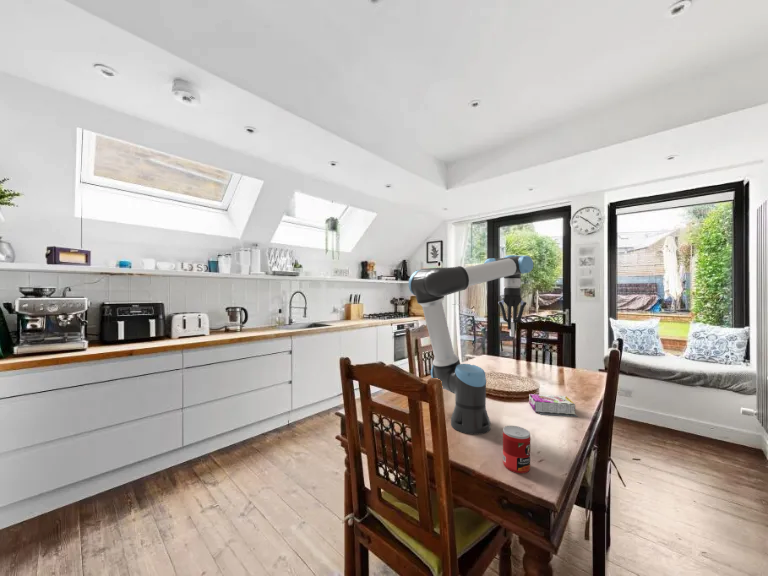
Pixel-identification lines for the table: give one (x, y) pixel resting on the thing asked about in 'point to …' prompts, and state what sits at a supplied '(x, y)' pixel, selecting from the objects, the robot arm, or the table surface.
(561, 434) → the table surface
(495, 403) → the table surface
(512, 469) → the canned food
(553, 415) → the mat
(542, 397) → the candy bar box
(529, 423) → the table surface
